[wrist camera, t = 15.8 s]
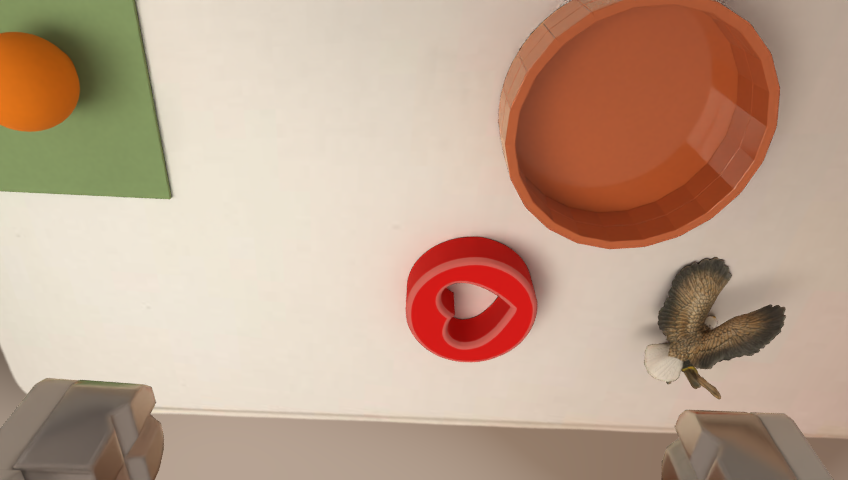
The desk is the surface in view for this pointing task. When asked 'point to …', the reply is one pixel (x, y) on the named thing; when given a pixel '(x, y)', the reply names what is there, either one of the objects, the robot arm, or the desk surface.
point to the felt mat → (89, 106)
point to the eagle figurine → (705, 327)
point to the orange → (35, 83)
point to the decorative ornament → (479, 267)
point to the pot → (636, 117)
